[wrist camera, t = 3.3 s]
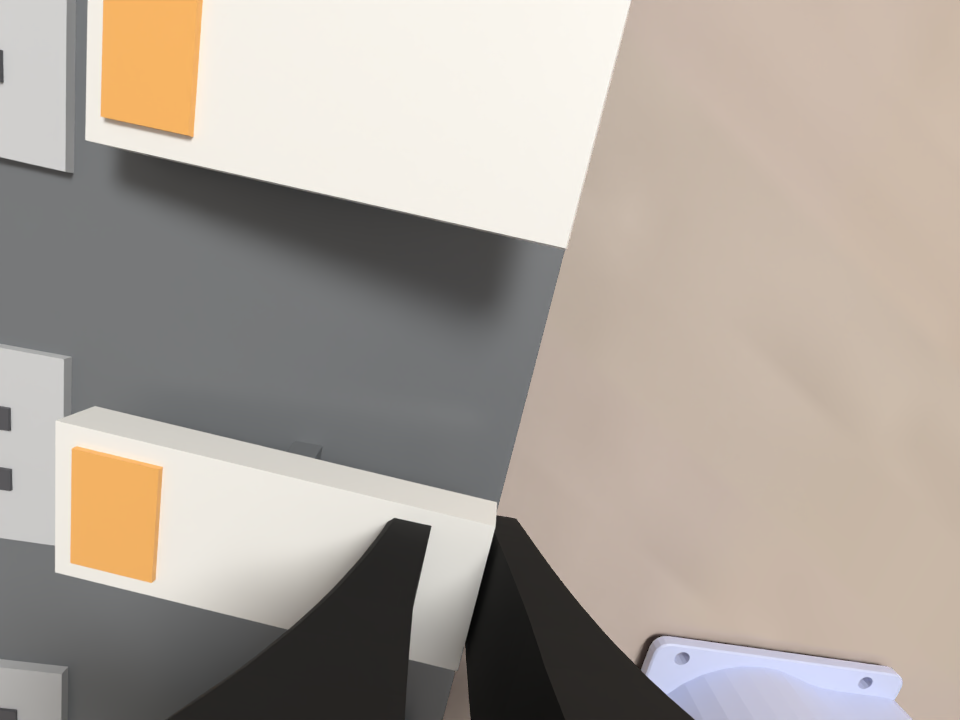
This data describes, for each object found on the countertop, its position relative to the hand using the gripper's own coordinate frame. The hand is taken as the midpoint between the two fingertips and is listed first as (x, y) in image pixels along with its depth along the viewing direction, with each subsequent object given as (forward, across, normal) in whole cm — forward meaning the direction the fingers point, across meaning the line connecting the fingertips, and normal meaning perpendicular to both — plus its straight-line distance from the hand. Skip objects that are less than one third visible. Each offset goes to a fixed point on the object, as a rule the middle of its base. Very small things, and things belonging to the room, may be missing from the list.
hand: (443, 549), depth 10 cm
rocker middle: (0, +3, 0) cm, 3 cm away
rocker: (0, +3, -8) cm, 9 cm away
